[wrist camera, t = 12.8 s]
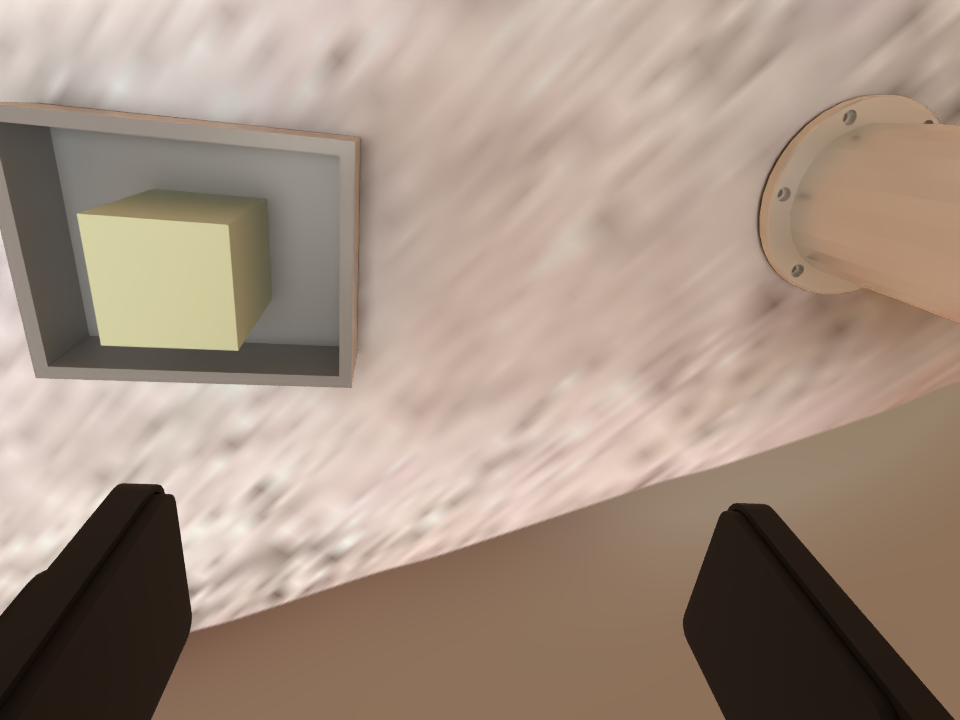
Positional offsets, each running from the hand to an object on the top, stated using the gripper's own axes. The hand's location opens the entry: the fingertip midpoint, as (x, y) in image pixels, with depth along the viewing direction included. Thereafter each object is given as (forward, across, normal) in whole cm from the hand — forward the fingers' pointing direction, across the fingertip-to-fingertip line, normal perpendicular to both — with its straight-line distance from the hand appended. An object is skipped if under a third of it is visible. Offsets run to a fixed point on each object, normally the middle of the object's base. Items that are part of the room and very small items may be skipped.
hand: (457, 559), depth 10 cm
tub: (+26, +13, +2) cm, 29 cm away
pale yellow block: (+26, +13, +2) cm, 29 cm away
